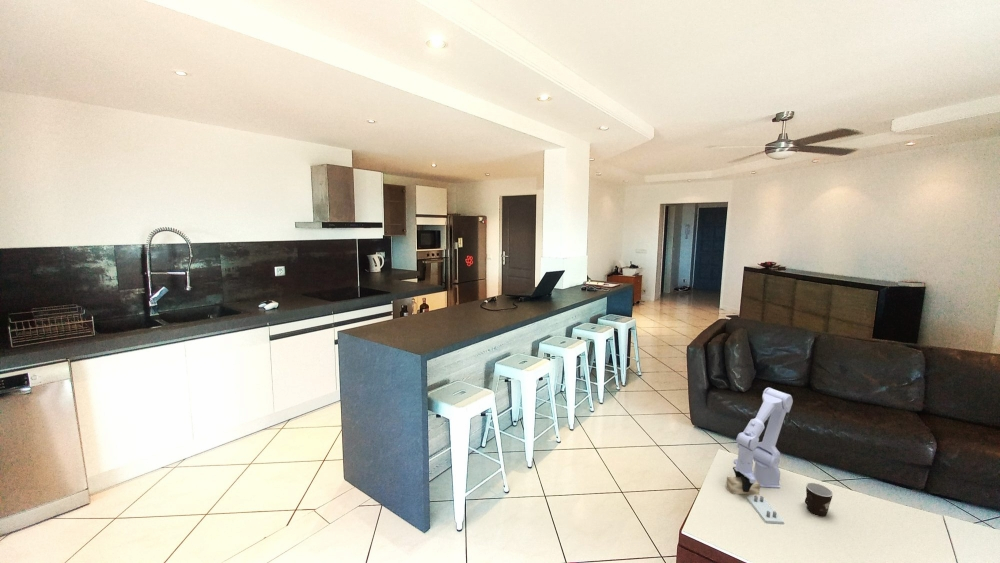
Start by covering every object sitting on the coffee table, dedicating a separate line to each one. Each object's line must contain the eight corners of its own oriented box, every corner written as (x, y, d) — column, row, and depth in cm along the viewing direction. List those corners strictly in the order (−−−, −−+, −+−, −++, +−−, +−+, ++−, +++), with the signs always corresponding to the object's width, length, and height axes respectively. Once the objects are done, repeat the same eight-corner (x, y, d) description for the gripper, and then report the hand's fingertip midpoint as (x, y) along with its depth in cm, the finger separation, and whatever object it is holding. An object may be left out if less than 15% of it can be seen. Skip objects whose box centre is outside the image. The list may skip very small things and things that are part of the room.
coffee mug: (820, 504, 167) (823, 483, 165) (835, 519, 158) (838, 497, 157) (791, 502, 168) (793, 481, 166) (804, 517, 159) (807, 495, 158)
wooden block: (753, 487, 178) (754, 477, 177) (759, 494, 173) (760, 484, 173) (726, 486, 178) (727, 476, 178) (731, 493, 174) (732, 483, 173)
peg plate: (746, 498, 170) (747, 492, 170) (763, 499, 170) (764, 493, 169) (765, 522, 157) (766, 516, 156) (783, 524, 156) (784, 517, 156)
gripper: (727, 450, 181) (725, 476, 183) (744, 469, 167) (741, 498, 169) (743, 450, 181) (741, 477, 182) (761, 470, 166) (759, 499, 168)
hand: (742, 487), depth 176 cm, fingers closed on wooden block, 4 cm apart
